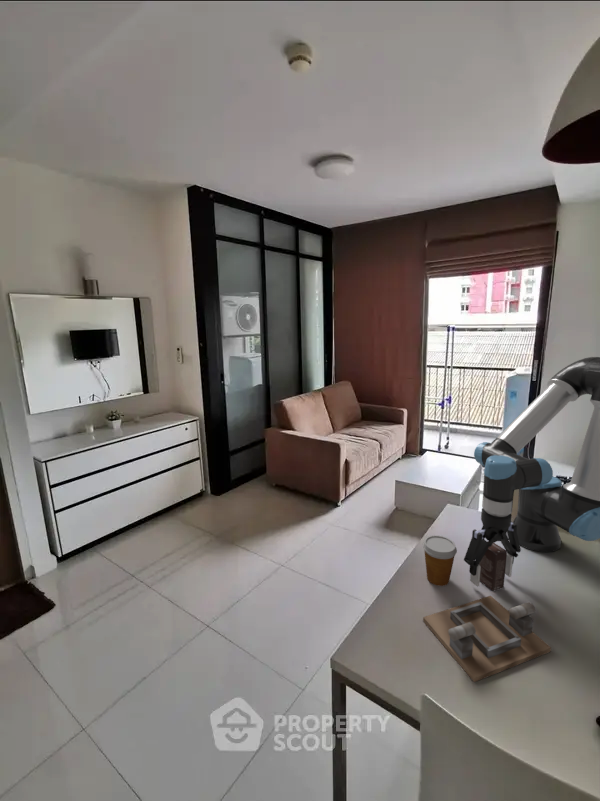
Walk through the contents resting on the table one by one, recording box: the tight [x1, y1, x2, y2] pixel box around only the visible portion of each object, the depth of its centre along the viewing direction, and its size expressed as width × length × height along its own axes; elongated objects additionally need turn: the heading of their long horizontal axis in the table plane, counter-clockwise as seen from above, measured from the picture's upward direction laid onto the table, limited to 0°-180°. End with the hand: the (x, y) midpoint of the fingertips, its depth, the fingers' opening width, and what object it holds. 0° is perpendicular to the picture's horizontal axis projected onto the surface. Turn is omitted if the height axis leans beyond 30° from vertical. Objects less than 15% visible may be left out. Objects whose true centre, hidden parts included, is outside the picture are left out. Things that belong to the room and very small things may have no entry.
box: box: [479, 540, 507, 592], centre depth 110 cm, size 6×4×12 cm
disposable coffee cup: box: [422, 534, 458, 587], centre depth 112 cm, size 10×10×12 cm
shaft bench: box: [422, 595, 552, 683], centre depth 93 cm, size 24×18×8 cm
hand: (490, 578), depth 111 cm, fingers open, 11 cm apart
